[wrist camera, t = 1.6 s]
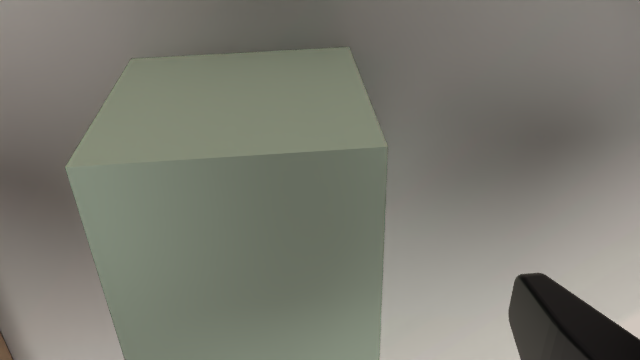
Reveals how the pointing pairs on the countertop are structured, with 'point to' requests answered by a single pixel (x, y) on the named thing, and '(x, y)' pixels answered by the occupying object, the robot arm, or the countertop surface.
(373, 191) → the sage block
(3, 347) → the walnut base
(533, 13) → the countertop surface
